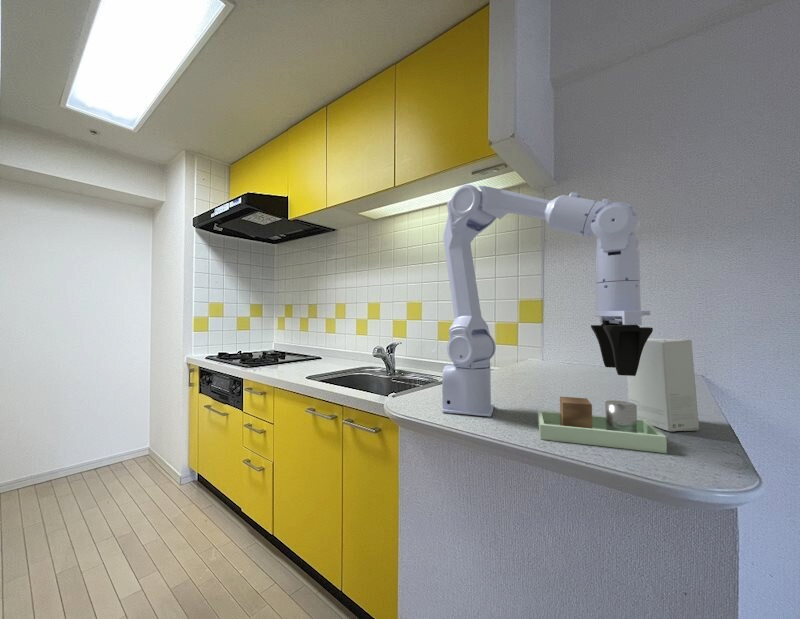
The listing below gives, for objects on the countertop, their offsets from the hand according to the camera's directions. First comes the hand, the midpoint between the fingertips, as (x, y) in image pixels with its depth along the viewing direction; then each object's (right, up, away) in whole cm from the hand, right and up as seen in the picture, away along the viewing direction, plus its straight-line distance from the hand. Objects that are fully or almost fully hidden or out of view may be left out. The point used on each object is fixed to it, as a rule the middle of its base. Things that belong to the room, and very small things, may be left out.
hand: (619, 371), depth 51 cm
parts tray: (-3, -10, +1) cm, 11 cm away
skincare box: (+12, -11, +7) cm, 17 cm away
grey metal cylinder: (0, -10, 0) cm, 10 cm away
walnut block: (-6, -10, +2) cm, 12 cm away
